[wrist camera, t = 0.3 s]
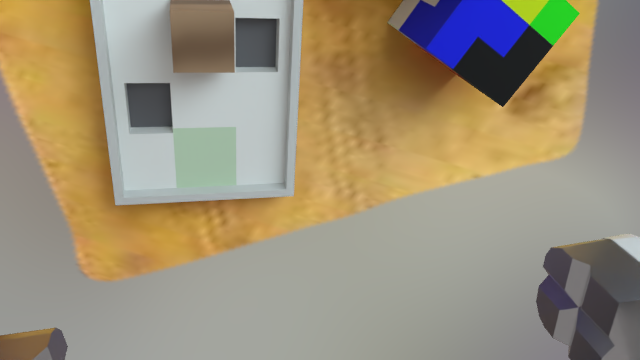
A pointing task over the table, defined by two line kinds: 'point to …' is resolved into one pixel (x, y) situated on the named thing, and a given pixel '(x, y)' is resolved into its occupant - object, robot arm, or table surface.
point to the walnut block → (202, 36)
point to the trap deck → (199, 105)
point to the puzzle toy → (486, 37)
